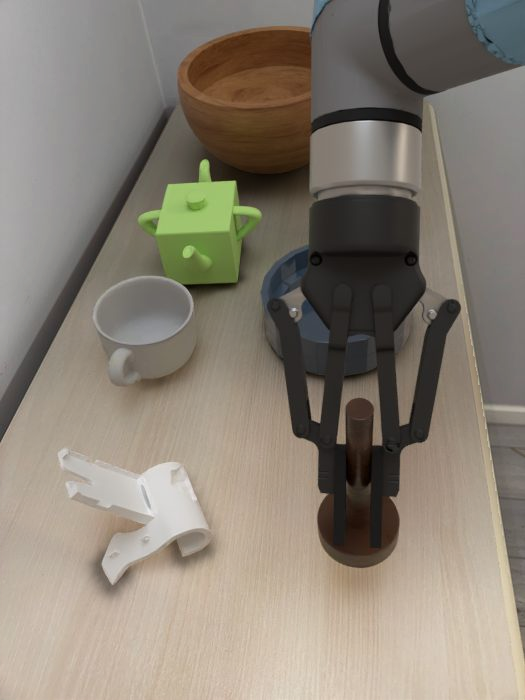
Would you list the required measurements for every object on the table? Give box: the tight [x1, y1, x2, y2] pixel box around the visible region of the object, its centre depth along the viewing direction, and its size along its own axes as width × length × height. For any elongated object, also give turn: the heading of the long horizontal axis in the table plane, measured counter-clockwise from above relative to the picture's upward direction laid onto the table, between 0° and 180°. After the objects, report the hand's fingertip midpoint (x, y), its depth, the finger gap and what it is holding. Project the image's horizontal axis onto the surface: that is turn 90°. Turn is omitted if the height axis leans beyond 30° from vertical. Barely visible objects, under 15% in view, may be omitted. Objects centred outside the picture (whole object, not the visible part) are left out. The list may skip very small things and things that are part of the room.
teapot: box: [137, 158, 263, 285], centre depth 84 cm, size 15×13×11 cm
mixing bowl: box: [260, 243, 413, 377], centre depth 76 cm, size 17×17×6 cm
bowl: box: [176, 25, 312, 175], centre depth 98 cm, size 25×25×15 cm
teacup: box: [91, 275, 197, 388], centre depth 74 cm, size 14×11×8 cm
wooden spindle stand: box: [316, 397, 401, 569], centre depth 48 cm, size 6×6×16 cm
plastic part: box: [57, 446, 213, 587], centre depth 58 cm, size 8×10×12 cm
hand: (357, 539), depth 47 cm, fingers closed on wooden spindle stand, 2 cm apart
